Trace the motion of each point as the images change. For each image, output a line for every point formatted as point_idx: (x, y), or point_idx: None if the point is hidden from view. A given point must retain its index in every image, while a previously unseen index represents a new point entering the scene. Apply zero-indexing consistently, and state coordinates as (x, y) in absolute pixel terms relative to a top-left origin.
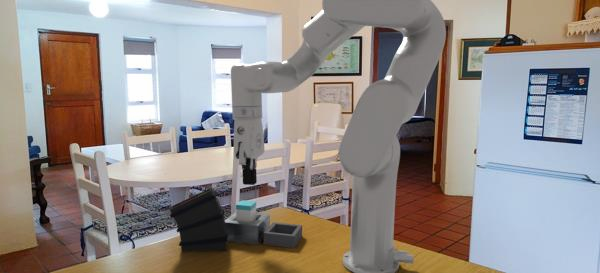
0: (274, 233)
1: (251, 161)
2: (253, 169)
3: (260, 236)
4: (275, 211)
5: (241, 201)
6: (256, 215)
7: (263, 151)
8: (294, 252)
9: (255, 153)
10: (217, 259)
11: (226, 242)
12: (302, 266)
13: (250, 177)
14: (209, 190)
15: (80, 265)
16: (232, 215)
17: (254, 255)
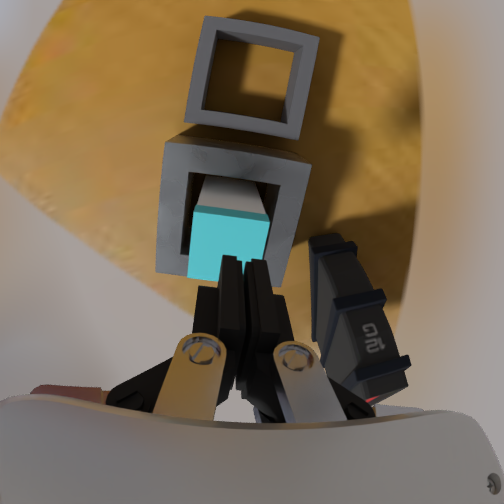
0: (301, 102)
1: (331, 411)
2: (271, 339)
3: (276, 151)
4: (13, 168)
5: (206, 275)
6: (185, 192)
7: (42, 425)
8: (339, 46)
9: (429, 461)
10: (381, 238)
11: (328, 241)
12: (412, 39)
13: (285, 311)
14: (397, 389)
15: None
16: None
17: (364, 154)
